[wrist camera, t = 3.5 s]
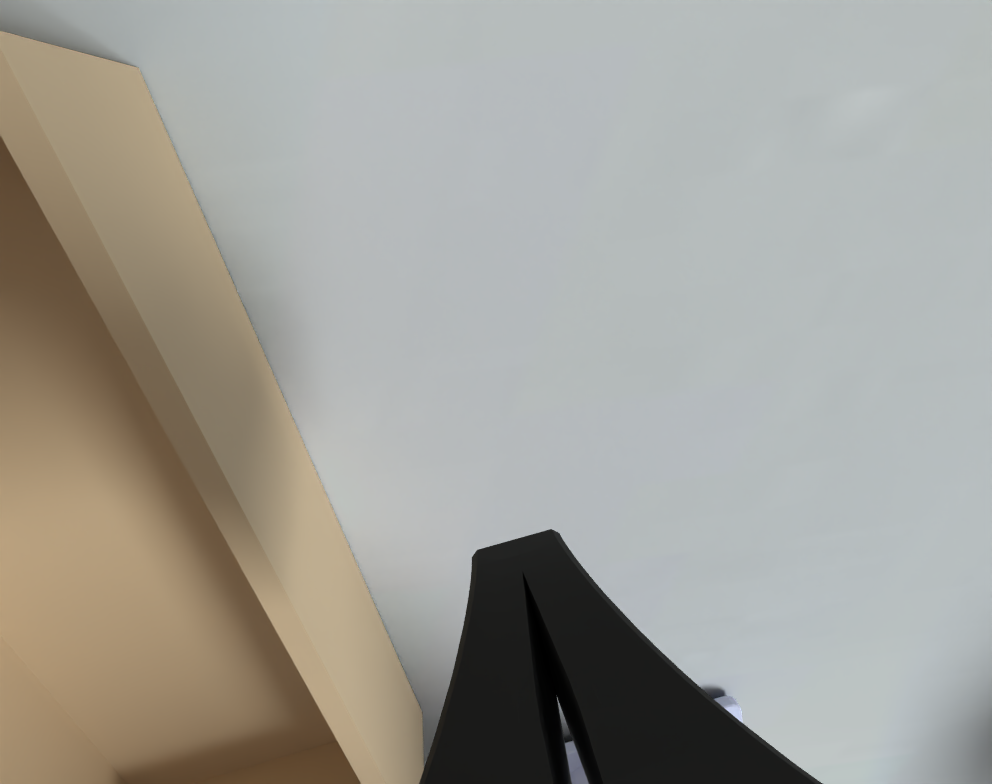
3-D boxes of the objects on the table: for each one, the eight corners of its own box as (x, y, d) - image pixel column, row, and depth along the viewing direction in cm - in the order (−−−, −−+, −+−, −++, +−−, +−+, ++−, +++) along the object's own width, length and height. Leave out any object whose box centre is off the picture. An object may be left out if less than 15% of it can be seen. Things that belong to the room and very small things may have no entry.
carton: (422, 713, 18) (425, 859, 14) (138, 795, 18) (68, 967, 14) (138, 67, 10) (-10, 28, 7) (-372, 195, 10) (-820, 227, 6)
